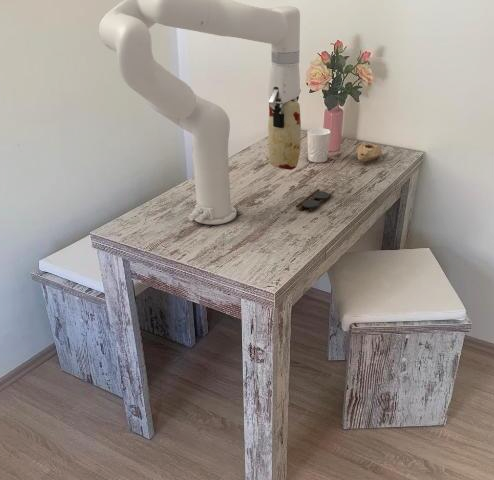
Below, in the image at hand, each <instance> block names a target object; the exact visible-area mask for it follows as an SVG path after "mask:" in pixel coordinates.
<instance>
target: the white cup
mask: <svg viewBox="0 0 494 480" xmlns="http://www.w3.org/2000/svg"><path fill="white" fill-rule="evenodd" d="M306 136H307V137H306V139H307V159H308V161H310V162H312V163H319V164H320V163H325V162H326V161H327V162H328V159H329V152H330V151H329V150H330V143H331V130H330V129H329V128H324V127H313V128H310V129H308V130H307V132H306Z"/></svg>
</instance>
